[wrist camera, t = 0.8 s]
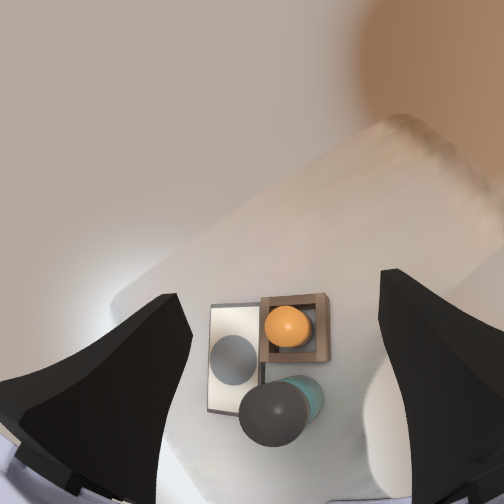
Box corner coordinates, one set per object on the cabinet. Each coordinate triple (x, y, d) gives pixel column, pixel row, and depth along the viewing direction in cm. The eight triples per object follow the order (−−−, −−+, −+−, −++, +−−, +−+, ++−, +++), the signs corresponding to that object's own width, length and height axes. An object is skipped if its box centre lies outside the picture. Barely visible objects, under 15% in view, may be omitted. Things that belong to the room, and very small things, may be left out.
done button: (313, 347, 20) (304, 346, 18) (277, 347, 21) (264, 347, 19) (313, 310, 21) (304, 304, 19) (278, 312, 22) (265, 306, 20)
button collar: (330, 360, 21) (326, 361, 18) (270, 361, 22) (259, 361, 20) (329, 298, 22) (324, 292, 20) (271, 303, 24) (260, 297, 22)
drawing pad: (263, 417, 21) (258, 419, 20) (211, 410, 23) (205, 412, 22) (265, 303, 24) (261, 301, 23) (215, 305, 26) (209, 303, 25)
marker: (323, 422, 19) (303, 449, 13) (274, 420, 20) (237, 442, 14) (324, 374, 20) (306, 383, 14) (275, 374, 22) (239, 381, 16)
